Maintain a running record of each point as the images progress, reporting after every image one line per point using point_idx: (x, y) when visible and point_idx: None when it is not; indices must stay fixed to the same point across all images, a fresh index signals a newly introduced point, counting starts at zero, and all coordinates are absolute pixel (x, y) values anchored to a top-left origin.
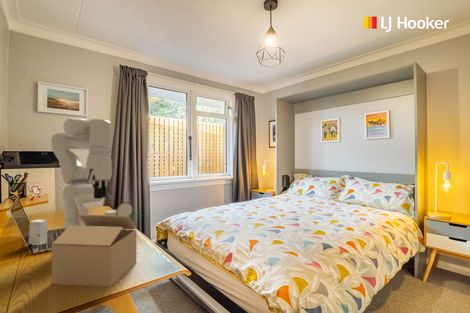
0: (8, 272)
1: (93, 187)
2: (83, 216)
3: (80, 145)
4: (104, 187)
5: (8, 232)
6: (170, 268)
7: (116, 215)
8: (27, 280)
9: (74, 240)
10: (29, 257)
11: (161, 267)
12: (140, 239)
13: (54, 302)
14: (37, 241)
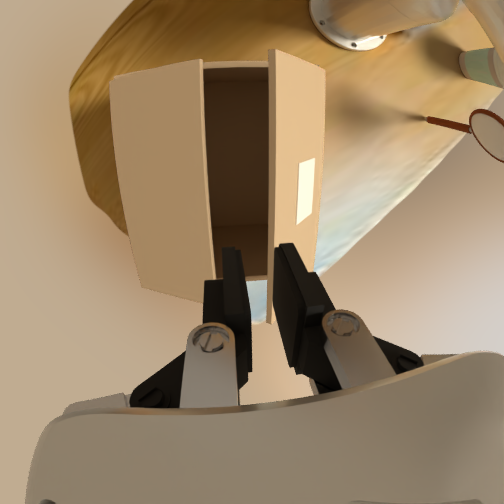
0: None
1: (190, 339)
2: (272, 79)
3: None
4: (295, 367)
5: None
6: (257, 307)
7: (500, 83)
8: (161, 17)
9: (127, 156)
10: None
11: (260, 290)
12: (422, 166)
13: (94, 160)
14: None
